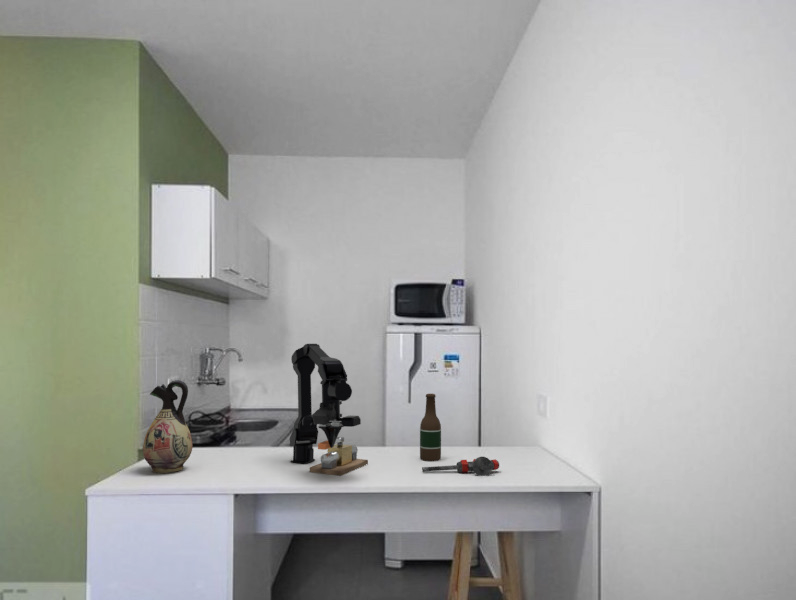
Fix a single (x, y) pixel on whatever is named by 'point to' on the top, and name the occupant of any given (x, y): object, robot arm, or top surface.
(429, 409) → the beer bottle
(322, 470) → the valve base
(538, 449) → the top surface
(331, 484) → the top surface
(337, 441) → the lever
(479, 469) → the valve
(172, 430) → the ceramic jug
